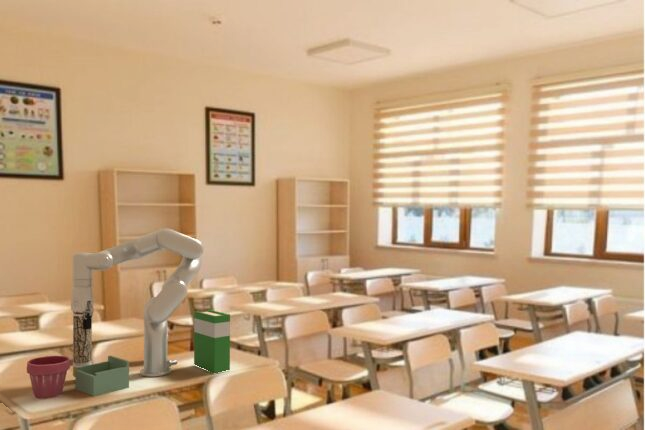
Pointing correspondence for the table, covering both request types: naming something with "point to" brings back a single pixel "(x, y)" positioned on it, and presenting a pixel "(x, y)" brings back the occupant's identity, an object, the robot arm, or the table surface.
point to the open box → (103, 376)
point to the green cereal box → (212, 340)
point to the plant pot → (48, 375)
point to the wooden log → (81, 343)
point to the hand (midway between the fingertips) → (82, 327)
